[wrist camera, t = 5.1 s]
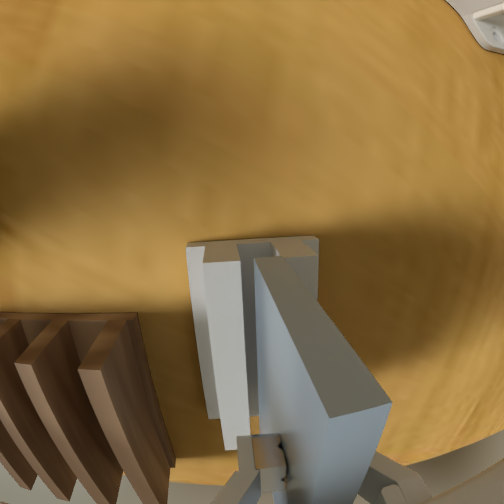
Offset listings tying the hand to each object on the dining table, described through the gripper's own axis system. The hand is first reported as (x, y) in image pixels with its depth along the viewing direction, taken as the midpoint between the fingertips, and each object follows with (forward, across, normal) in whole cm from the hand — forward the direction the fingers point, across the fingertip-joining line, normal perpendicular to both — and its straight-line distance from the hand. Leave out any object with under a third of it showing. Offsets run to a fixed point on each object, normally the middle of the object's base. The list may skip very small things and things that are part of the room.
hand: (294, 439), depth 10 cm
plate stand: (+9, 0, +1) cm, 9 cm away
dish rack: (+9, +14, +6) cm, 18 cm away
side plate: (+5, 0, 0) cm, 5 cm away
